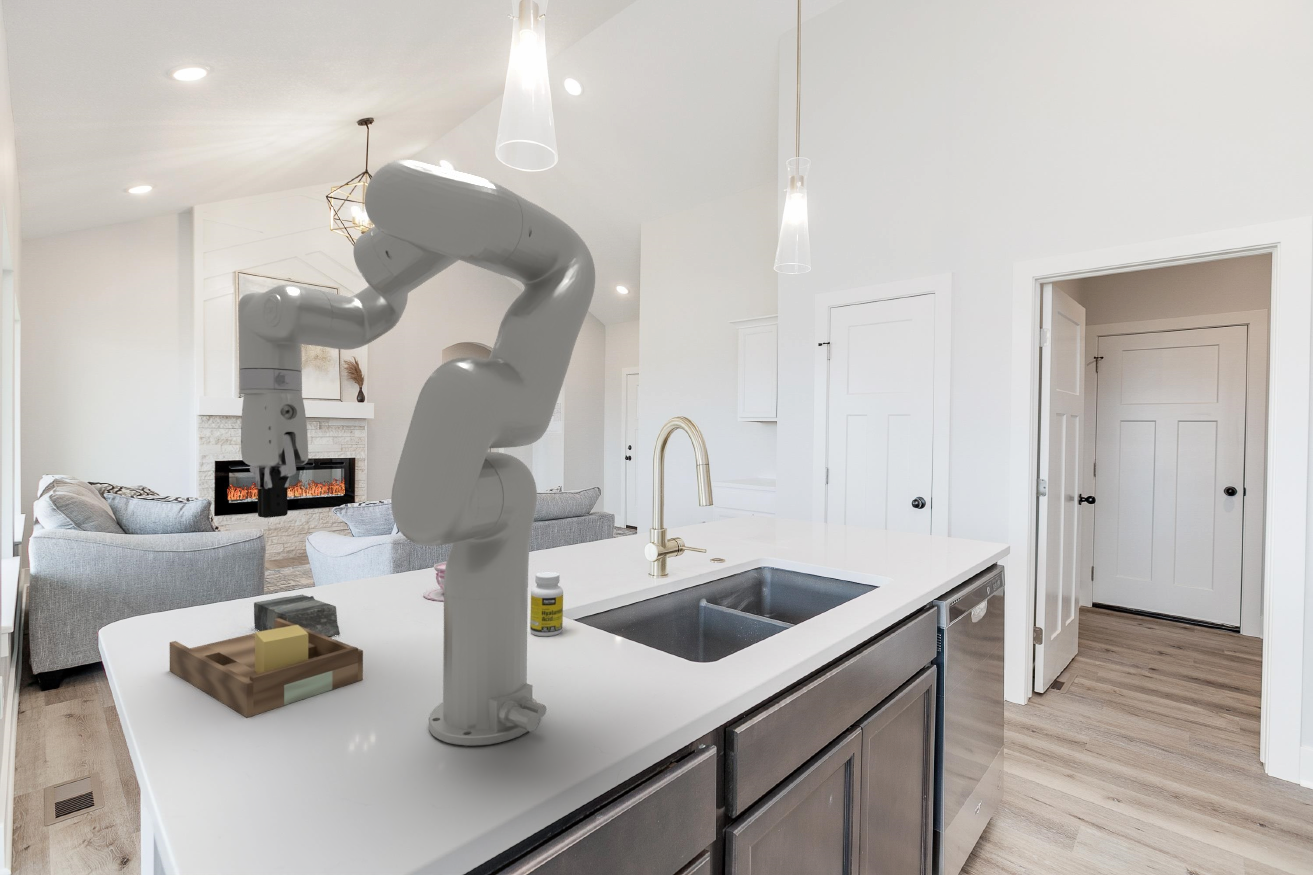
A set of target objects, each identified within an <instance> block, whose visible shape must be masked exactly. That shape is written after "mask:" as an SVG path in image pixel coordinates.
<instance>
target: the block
mask: <svg viewBox="0 0 1313 875" xmlns="http://www.w3.org/2000/svg"><path fill="white" fill-rule="evenodd" d="M254 633H255V671H256V672H257V674H258V673H262V672H265V671H269V670H272V669H276V668H280V667H283V666H287V665H290V664H294V663H297V662H301V661H304V660H308V633H307V632H306V631H305V630H303V629H302V628H301V627H300V626H299V625H293V626H288V627H282V628H276V629H271V630H265V631H255V632H254Z"/></svg>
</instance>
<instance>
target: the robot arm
mask: <svg viewBox="0 0 1313 875" xmlns="http://www.w3.org/2000/svg"><path fill="white" fill-rule="evenodd" d="M364 207H365V208H364V209H365V212H366V215H367V217H368V219H369V221H370V222H371V224H372V225H373V226H372V228H369V229H368V230H367V231H365V232H363V234H361V235H360V236H359V237H358V238H357V239H356V241H355V243H354V245H353V258H354V262H355V266H356V269H357V270H358V272H359V273H360V275H361V277H362V278H363V280H365V282H366V283H367V284H368V286H367V287H366V288H363V289H362V290H361V291H359V292H358V293H356V294H354V295H351V296H346V295H343V294H338V293H334V292H330V291H325V290H321V289H320V290H319V289H315V288H310V287H306V286H302V285H296V284H281V285H277V286H274V287H272V288H270V289H268V290H266V291H265V292H250V293H246V294H243V295H242V296H241V298H240V299H239V301H238V305H237V306H238V309H237V310H238V312H237V314H238V315H237V316H238V318H237V319H238V320H237V321H238V381H239V382H238V383H239V385H238V386H239V388H238V389H239V392H238V394H239V395H242V396H243V400H242V408H241V420H240V422H241V425H240V452H241V454H240V455H241V459H242V461H243V462H244V463H245V464H247V465H248V466H249V471H250V473H251V474H253V475H254V476H255V485H256V487H257V517H258V518H265V519H269V518H276V517H277V518H278V517H286V516H287V515H288V512H289V511H288V507H289V506H288V488H289V485H290V477H291V476H293V475H295V474H296V473H297V467H296V466H303V465H305V464H307V462H308V461H309V438H308V437H309V436H308V426H307V416H306V415H307V414H306V408H305V404H304V403H305V402H304V399H303V367H302V366H303V360H302V359H303V352H302V351H303V350H302V349H303V348H302V347H303V346H302V345H305V346H315V347H323V348H328V349H338V350H345V351H346V350H347V351H348V350H349V351H350V350H354V349H359V348H362V347H364V346H366V345H368V344H371V343H372V342H374V341H376V340H377V339H379V338H380V337H382V336H383V335H385V334H387V333H388V332H390V331H391V330H393V329H394V327H396V326H397V325H398V323H399V321H400V320H401V318H402V316H403V314H404V313H405V310H406V306H407V304H408V298H409V296H408V295H409V293H411V292H412V291H413V290H416V289H417V288H418V287H420V286H422V285H423V284H424V283H426V282H427V281H429V280H430V279H432V278H434V277H435V276H437V275H439V274H440V273H441V272H443V271H444V270H446V269H448V268H449V267H450V266H453V265H454V264H455V263H457V262H459V261H462V262H465V263H467V264H470V265H472V266H474V267H478V268H481V269H484V270H487V271H490V272H493V273H495V274H498V275H500V276H504V277H507V278H510V279H513V280H516V281H519V283H521V284H522V285H523V288H524V289H523V291H522V292H521V293H520V294H519V295H518V296H517V297H516V299H515V300H514V301H513V302H512V303H511V304H510V305H509V307H508V309H507V310H506V312H505V314H504V315H503V318H502V320H501V321H500V324H499V329H498V333H497V336H496V339H495V341H494V345H493V348H492V350H491V353H490V354H489V356H488V358H481V357H476V356H475V357H474V356H463V357H462V356H461V357H456V358H453V359H451V360H448V361H446V362H444V363H443V364H441V365H439V366H438V367H437V368H436V369H435V370H434V371H433V372H432V373H431V374H430V376H429V377H428V378H427V379H426V381H425V383H424V384H423V385H422V388H421V390H420V392H419V394H418V398H417V400H416V403H415V406H414V410H413V412H412V413H413V414H412V417H411V420H410V423H409V427H408V430H407V434H406V437H405V440H404V444H403V446H402V450H401V454H400V458H399V461H398V464H397V469H396V470H395V475H394V479H393V484H392V489H391V497H390V498H391V499H390V501H391V503H390V504H391V505H390V506H391V512H392V517H393V518H392V519H393V520H394V523H395V525H396V527H397V529H398V530H399V532H400V533H401V534H402V535H403V536H404V537H405V538H406V539H407V540H409V541H410V542H412V543H414V544H417V545H420V546H424V547H425V546H426V547H437V546H446V545H449V544H451V546H450V549H449V550H448V551H449V552H448V554H447V558H446V561H447V562H446V561H445V562H446V567H445V576H444V593H443V596H444V601H443V650H442V652H443V654H442V655H443V660H442V661H443V662H442V663H443V665H442V667H443V668H442V670H443V671H442V672H443V673H442V676H443V677H442V703H439V704H438V705H437V706H435V708H434V709H433V710H432V711H431V712H430V713H429V716H428V729H429V732H430V733H431V735H432V736H433V737H434V738H436V739H438V740H439V741H442V742H444V743H447V744H452V745H457V746H468V747H469V746H488V745H493V744H499V743H503V742H507V741H510V740H513V739H515V738H518V737H520V736H522V735H524V734H526V733H527V732H530V733H532V732H534V731H535V730H536V729H537V727H538V726H539V724H540V719H541V718H543V717H545V715H546V712H547V706H546V705H545V704H542V703H541V702H540V703H539V702H538V701H537V700H536V699H535V698H533V684H530V683H528V682H527V681H528V678H527V677H528V672H527V671H528V601H529V600H528V597H529V596H528V595H529V594H528V593H529V589H528V588H529V560H530V547H531V538H532V532H533V527H534V521H535V516H536V511H537V502H538V497H537V496H538V494H537V493H538V491H537V484H536V482H535V478H534V475H533V474H532V471H531V470H530V468H529V467H528V466H527V464H525V462H523V461H522V460H520V459H519V458H518V457H515V456H514V455H511V454H509V453H504V452H499V451H498V452H497V451H489V450H490V449H505V448H506V449H507V448H508V449H509V448H517V447H519V448H520V447H524V446H528V445H531V444H534V443H536V442H537V441H539V440H540V439H541V438H542V437H543V436H544V434H545V433H546V432H547V430H548V428H549V426H550V423H551V420H552V417H553V414H554V412H555V409H556V405H557V404H558V403H557V402H558V399H559V396H560V393H561V391H562V388H563V386H564V385H563V384H564V381H565V378H566V375H567V372H568V370H569V365H570V364H571V359H572V355H573V352H574V348H575V345H576V343H577V341H578V340H577V339H578V336H579V334H580V332H581V329H582V326H583V324H584V321H585V319H586V317H587V314H588V312H589V308H590V306H591V302H592V300H593V297H594V292H595V289H596V288H595V287H596V268H595V263H594V259H593V255H592V253H591V251H590V249H589V247H588V245H587V244H586V242H585V241H584V240H583V238H581V236H580V235H579V234H578V233H577V232H576V231H575V229H573V227H571V226H570V225H569V224H567V223H566V222H565V221H564V220H562V219H561V218H559V217H558V216H556V215H555V214H553V213H552V212H549V211H548V210H546V209H544V208H543V207H541V206H539V205H537V204H535V203H533V202H532V201H529V200H528V199H526V198H524V197H523V196H521V195H518V194H517V193H515V192H513V191H511V190H510V189H508V188H506V187H504V186H502V185H501V184H498V183H496V182H495V181H492V180H489V179H487V178H485V177H481V176H477V175H473V174H469V173H465V172H461V171H457V170H453V169H450V168H449V169H448V168H445V167H441V166H437V165H434V164H430V163H426V162H423V161H419V160H415V159H398V160H394V161H391V162H388V163H387V164H385V165H383V166H381V167H380V168H379V169H378V170H377V171H376V172H374V174H373V175H372V177H371V178H370V180H369V182H368V184H367V186H366V189H365V194H364Z"/></svg>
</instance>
